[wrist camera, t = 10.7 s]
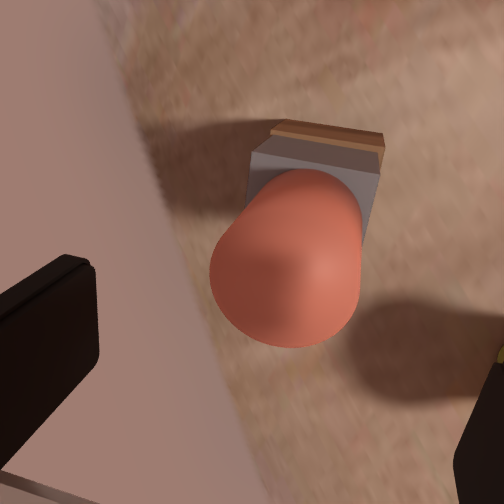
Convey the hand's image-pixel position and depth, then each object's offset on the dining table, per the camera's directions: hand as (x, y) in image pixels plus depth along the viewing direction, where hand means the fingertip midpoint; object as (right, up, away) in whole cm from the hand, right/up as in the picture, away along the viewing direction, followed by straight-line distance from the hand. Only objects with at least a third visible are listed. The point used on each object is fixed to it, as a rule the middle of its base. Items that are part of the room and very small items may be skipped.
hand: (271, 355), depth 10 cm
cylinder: (+2, +4, +10) cm, 11 cm away
